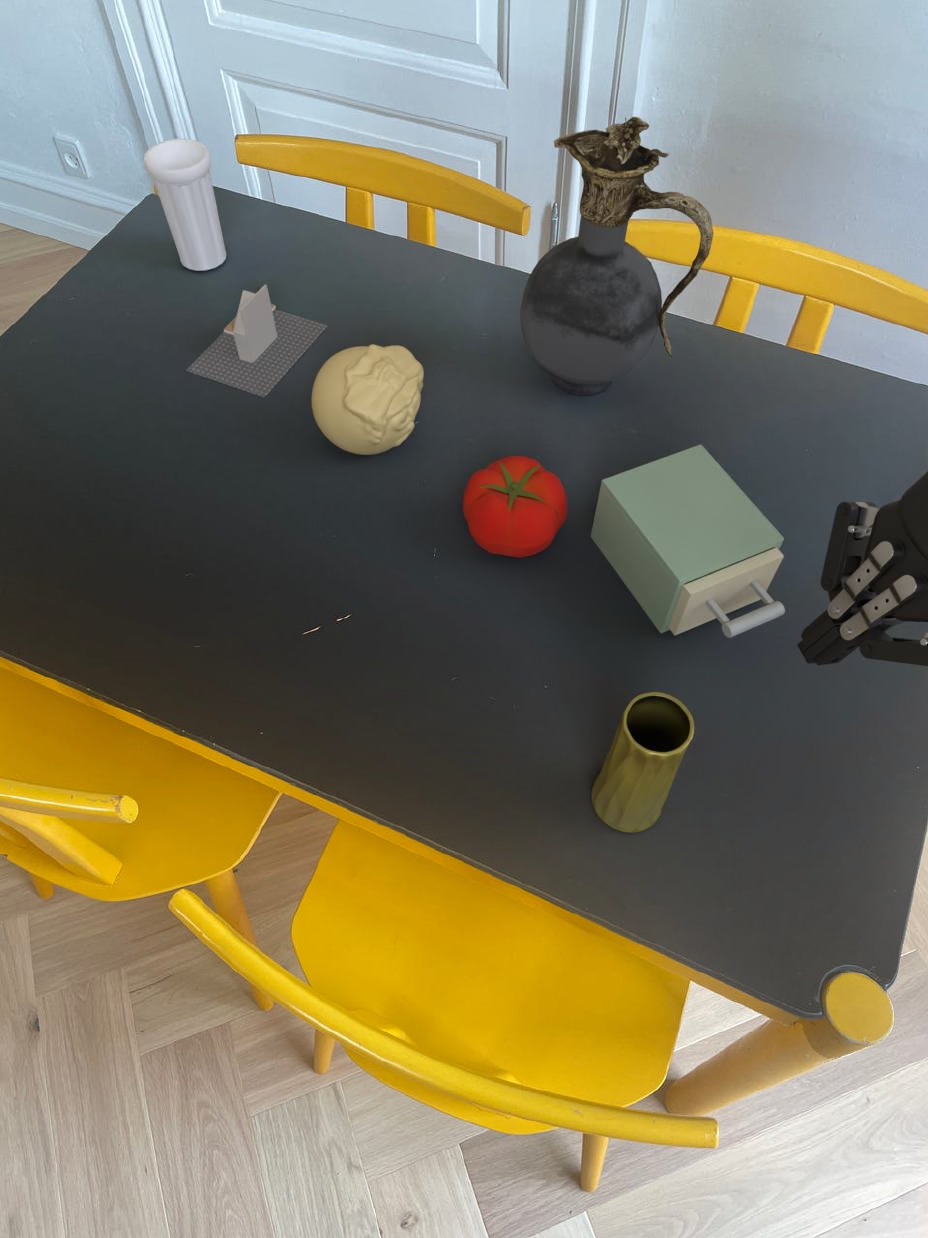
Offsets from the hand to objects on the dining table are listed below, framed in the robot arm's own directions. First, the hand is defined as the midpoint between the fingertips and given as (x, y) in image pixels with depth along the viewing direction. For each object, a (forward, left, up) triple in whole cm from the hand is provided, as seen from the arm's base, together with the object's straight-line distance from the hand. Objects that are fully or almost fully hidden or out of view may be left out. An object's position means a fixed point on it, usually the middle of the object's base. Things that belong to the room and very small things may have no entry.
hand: (811, 654), depth 60 cm
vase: (+2, +10, -19) cm, 22 cm away
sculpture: (+53, +13, -19) cm, 58 cm away
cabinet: (+22, -8, -19) cm, 30 cm away
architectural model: (+73, +20, -19) cm, 78 cm away
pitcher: (+50, -15, -19) cm, 55 cm away
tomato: (+33, +5, -19) cm, 38 cm away
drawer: (+18, -8, -18) cm, 27 cm away
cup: (+94, +21, -19) cm, 98 cm away
